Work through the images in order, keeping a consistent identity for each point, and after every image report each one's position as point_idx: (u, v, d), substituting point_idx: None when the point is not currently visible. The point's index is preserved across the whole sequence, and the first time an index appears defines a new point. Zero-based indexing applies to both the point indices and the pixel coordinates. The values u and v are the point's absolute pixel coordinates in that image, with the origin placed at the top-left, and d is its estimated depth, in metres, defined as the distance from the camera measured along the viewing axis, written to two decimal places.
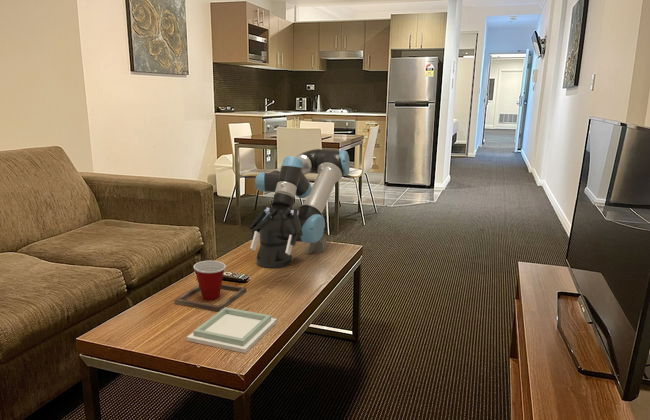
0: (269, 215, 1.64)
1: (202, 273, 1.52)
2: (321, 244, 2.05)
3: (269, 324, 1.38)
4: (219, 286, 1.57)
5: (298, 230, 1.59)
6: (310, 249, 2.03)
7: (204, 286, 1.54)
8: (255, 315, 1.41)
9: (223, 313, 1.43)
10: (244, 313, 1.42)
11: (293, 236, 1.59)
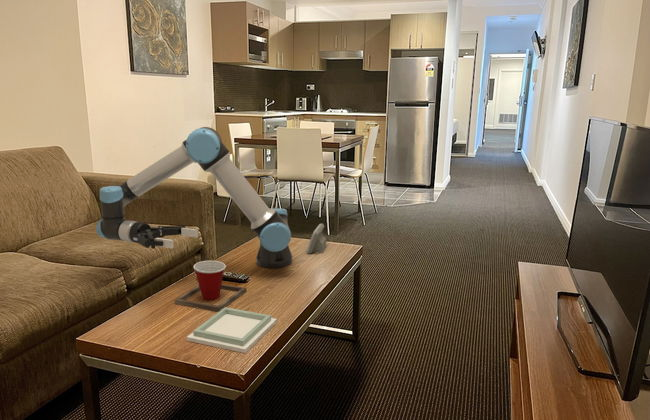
0: None
1: (202, 273, 1.52)
2: (321, 244, 2.05)
3: (269, 324, 1.38)
4: (219, 286, 1.57)
5: None
6: (310, 249, 2.03)
7: (204, 286, 1.54)
8: (255, 315, 1.41)
9: (223, 313, 1.43)
10: (244, 313, 1.42)
11: None
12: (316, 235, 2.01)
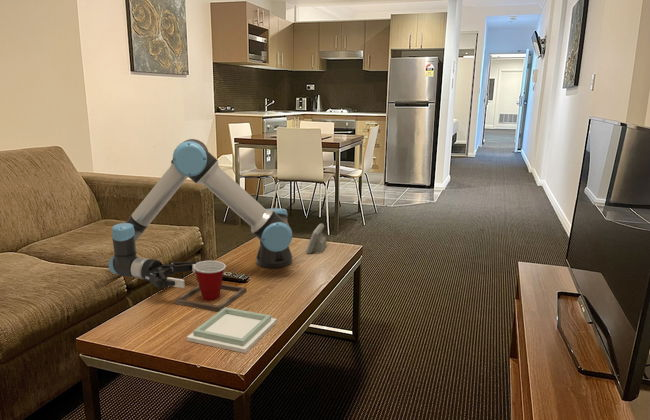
0: None
1: (202, 273, 1.52)
2: (321, 244, 2.05)
3: (269, 324, 1.38)
4: (219, 286, 1.57)
5: None
6: (309, 249, 2.03)
7: (204, 286, 1.54)
8: (255, 315, 1.41)
9: (223, 313, 1.43)
10: (244, 313, 1.42)
11: None
12: (316, 235, 2.01)
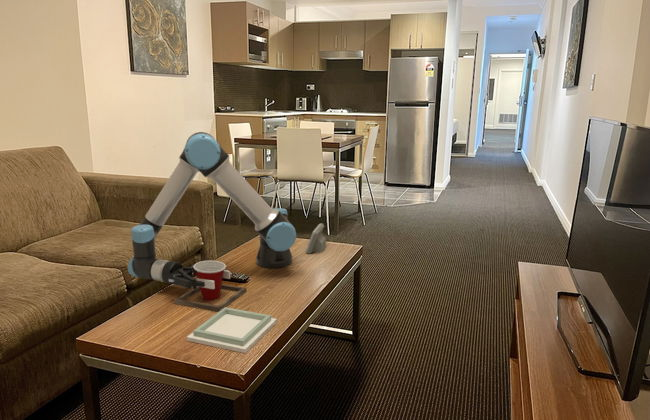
0: None
1: (202, 273, 1.52)
2: (320, 244, 2.06)
3: (269, 324, 1.38)
4: (219, 286, 1.57)
5: None
6: (309, 249, 2.03)
7: None
8: (255, 315, 1.41)
9: (223, 313, 1.43)
10: (244, 313, 1.42)
11: None
12: (315, 235, 2.02)
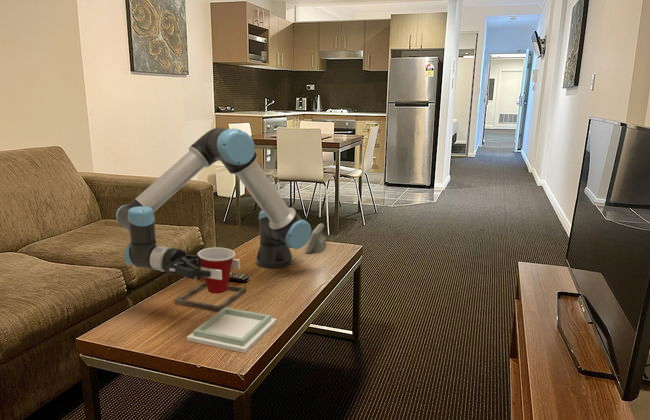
0: None
1: (207, 261, 1.31)
2: (320, 244, 2.06)
3: (269, 324, 1.38)
4: (227, 277, 1.36)
5: None
6: (309, 249, 2.04)
7: None
8: (255, 315, 1.41)
9: (223, 313, 1.43)
10: (244, 313, 1.42)
11: None
12: (315, 235, 2.02)
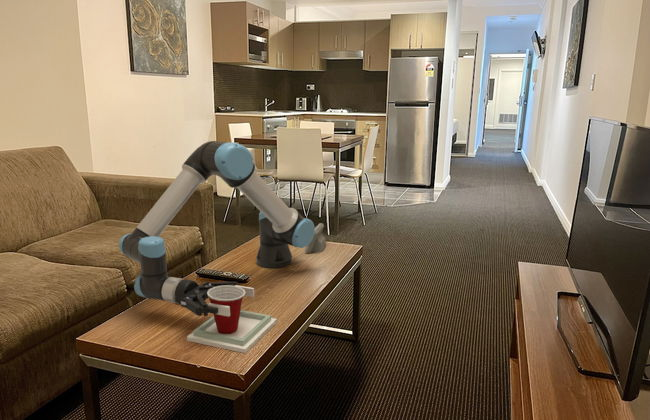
0: None
1: (217, 301, 1.27)
2: (320, 244, 2.06)
3: (269, 324, 1.38)
4: (237, 316, 1.32)
5: None
6: (308, 248, 2.04)
7: (219, 316, 1.30)
8: (255, 315, 1.41)
9: None
10: (244, 313, 1.42)
11: None
12: (315, 235, 2.02)
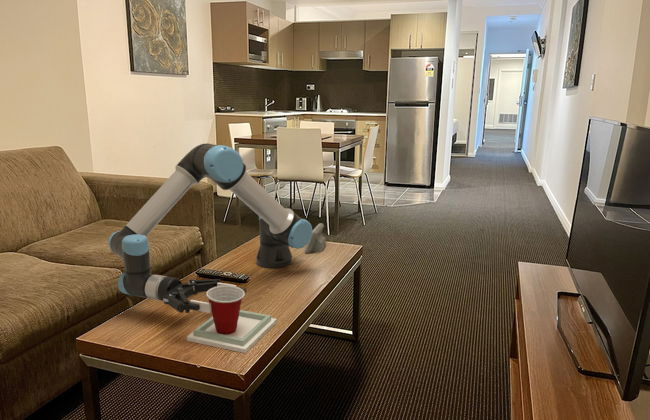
0: None
1: (215, 302, 1.27)
2: (319, 243, 2.06)
3: (269, 324, 1.38)
4: (235, 318, 1.31)
5: None
6: (308, 248, 2.04)
7: (217, 317, 1.29)
8: (255, 315, 1.41)
9: None
10: (244, 313, 1.42)
11: None
12: (314, 235, 2.02)
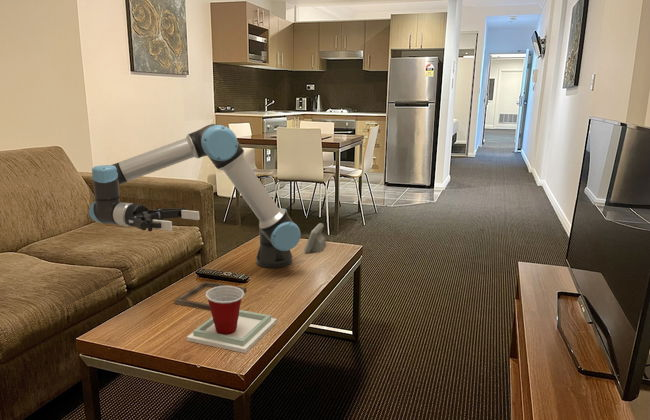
0: None
1: (214, 303, 1.27)
2: (319, 243, 2.06)
3: (269, 324, 1.38)
4: (235, 318, 1.31)
5: None
6: (308, 248, 2.04)
7: (217, 318, 1.29)
8: (255, 315, 1.41)
9: None
10: (244, 313, 1.42)
11: None
12: (314, 234, 2.02)
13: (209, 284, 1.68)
